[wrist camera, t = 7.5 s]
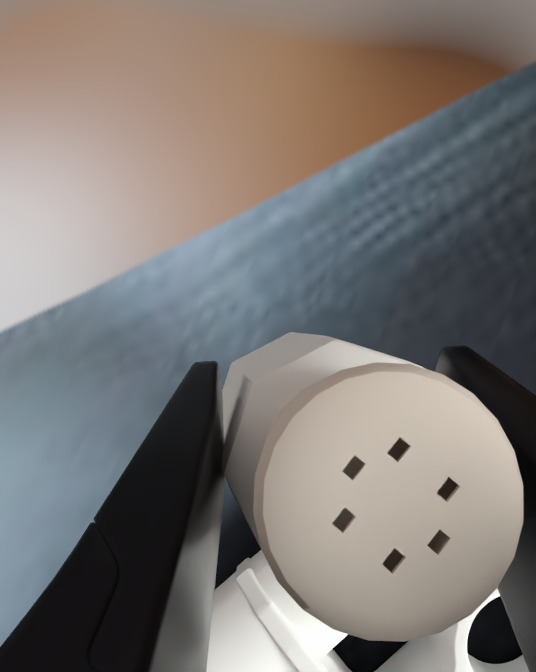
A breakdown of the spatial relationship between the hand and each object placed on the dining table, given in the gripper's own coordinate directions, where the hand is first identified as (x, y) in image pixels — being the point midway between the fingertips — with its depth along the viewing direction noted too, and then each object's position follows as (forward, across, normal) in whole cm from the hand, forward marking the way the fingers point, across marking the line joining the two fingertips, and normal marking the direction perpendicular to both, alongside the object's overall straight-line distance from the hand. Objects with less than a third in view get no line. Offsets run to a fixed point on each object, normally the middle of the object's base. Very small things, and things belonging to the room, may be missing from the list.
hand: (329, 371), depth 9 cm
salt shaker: (+4, 0, +6) cm, 7 cm away
